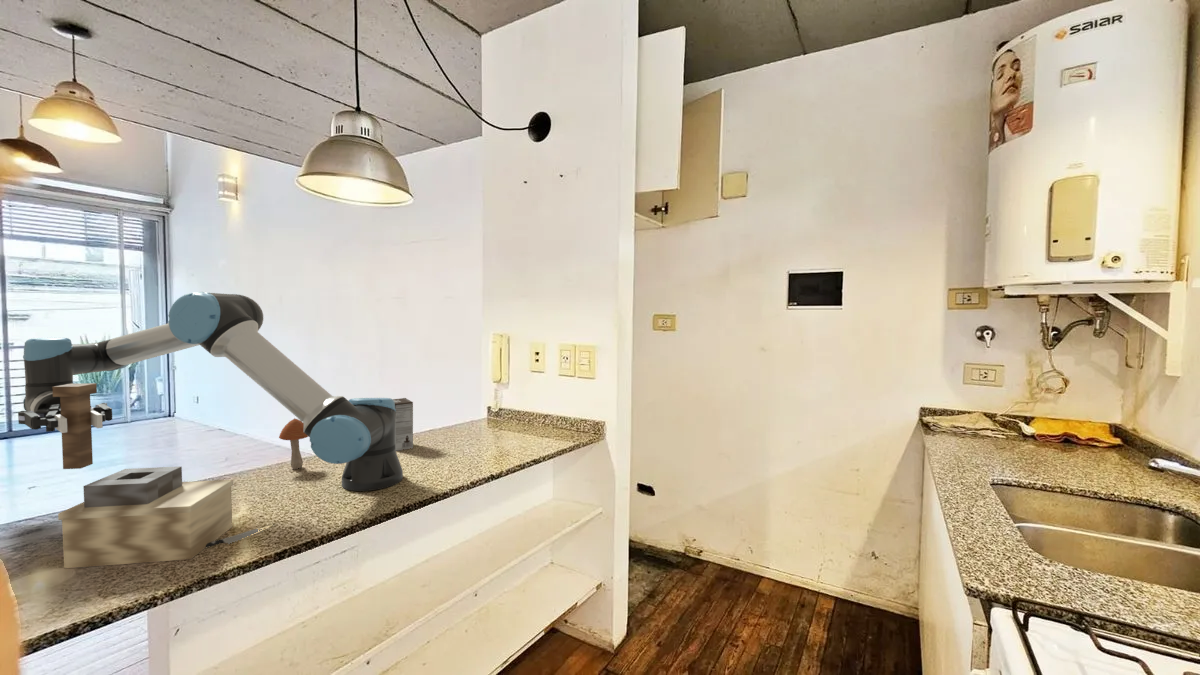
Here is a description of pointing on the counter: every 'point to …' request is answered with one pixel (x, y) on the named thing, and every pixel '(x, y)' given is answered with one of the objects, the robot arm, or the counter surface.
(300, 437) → the mushroom
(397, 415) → the coffee box
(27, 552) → the counter surface
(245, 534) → the chef's knife
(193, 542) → the tan two-tone block
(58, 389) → the brown t-shaped block
